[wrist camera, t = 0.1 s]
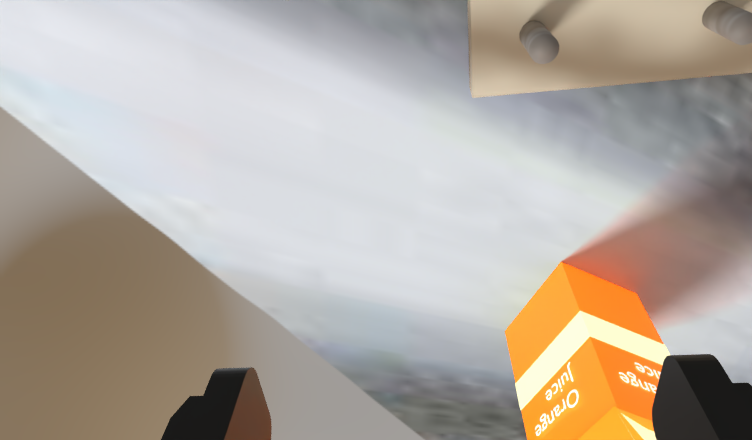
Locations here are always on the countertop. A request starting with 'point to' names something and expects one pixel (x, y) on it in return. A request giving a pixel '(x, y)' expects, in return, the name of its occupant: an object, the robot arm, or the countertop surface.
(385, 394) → the countertop surface
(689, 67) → the peg board
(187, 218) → the countertop surface
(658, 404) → the robot arm
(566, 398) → the orange juice
